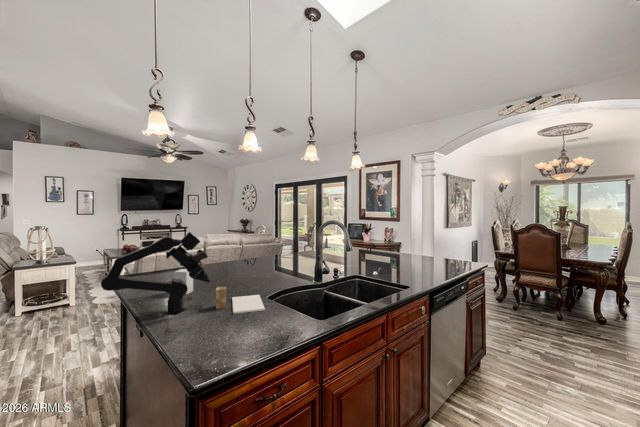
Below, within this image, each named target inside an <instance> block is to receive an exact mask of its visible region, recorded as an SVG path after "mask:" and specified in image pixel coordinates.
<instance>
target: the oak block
mask: <svg viewBox="0 0 640 427" xmlns="http://www.w3.org/2000/svg"><path fill="white" fill-rule="evenodd" d="M215 296H216V297H215V307H216V308H215V309H216V310H220V309H226V308H227V286H218V287H216V288H215Z"/></svg>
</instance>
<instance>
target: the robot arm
mask: <svg viewBox="0 0 640 427" xmlns="http://www.w3.org/2000/svg"><path fill="white" fill-rule="evenodd" d="M200 243H201V240H200V239H198V238H197V237H196V236H195V235H194V234H193V233H192V232H191V231H189V232H187V233H186V235H185V236H184V237H183V238H182V239H178V238H177V239H175V238H172V237H171V236H167V235H166V236H163V237H161V238H160V239H157V240H156V241H155V242H152V244H150V245H148V246H145V247H143V248H139V249H138V250H135V251H133V252H130V253H127V254H125V255H123V256H119V257H117V258H116V259H115V260H114V262H113V265H112V267H111V269H110V271H109V272H108V274H107V275H105V277H103V279H102V280H101V282H100V285H101V286H100V287H101V288H102V289H103V290H105V291H107V292H108V291H119V290H124V289H131V290H132V289H133V290H139V291H140V290H141V291H153V292H165V293H167V297H168V298H167V300H166V301H167V305H166V306H167V310H166V311H164V314H166V315H167V314H168V315H178V314H180V313H182V312H184V311H186V310H187V308H186V307H184V296H185V295H184V294H186V292H187V290H188V288H187V285H186V283H185V281H182V280H181V279H174V277H172V278H171V280H170V281H159V280H150V279H149V280H148V279H141V278H140V279H139V278H131V277H128V276H126V275H123V274H122V272H123V269H124V267H125V266H127V265H129V264H132V263H134V262H135V261H136V262H137V261H139V260H141V259H144V258H146V257H149V256H151V255H153V254H156V253H157V254H158V253H163V252H165V255H166V259H168V258H170V257H172V258H173V259H174V260H175V261H177V263H179V265H180V266H181V267H183V268H184V269H187V271H188V272H189V276H190V277H191V278H193V280H194V279H195V280H198V281H202V282H205V283H210V282H211V280H210V278H209V276H208V274H207V273H206V271H205V268H204V267H203V263H202V261H203V260H204V259H207V258H208V257H209V256H208V253H207V252H206V250H205V249H203V250H202V249H198V250H197V252H196V253H195V254H192V253H189V252H188V251H189V250H191V251H193V249H195V247H197V246H198V245H199V244H200ZM186 295H187V294H186Z"/></svg>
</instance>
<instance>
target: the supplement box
mask: <svg viewBox="0 0 640 427" xmlns="http://www.w3.org/2000/svg"><path fill="white" fill-rule="evenodd" d="M173 278H174V279H181V280H182V281H185V283H186V285H187V288H188V290H187V292H186V294H184V295H183V296H185V295H188V294H190V293H192V292H193V291H194V279H193V278H191V277H190V276H189V272H188V271H187V269H186V268H179V269H178V270H175V271H173Z"/></svg>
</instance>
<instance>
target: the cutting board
mask: <svg viewBox="0 0 640 427" xmlns="http://www.w3.org/2000/svg"><path fill="white" fill-rule="evenodd" d="M231 299H232V300H231V301H232V313H233V314H245V313H253V312H254V313H255V312H260V311H261V312H262V311H265V310H266V308H265V305H264V303H263V300H262V298H261V295H260V294H253V295H252V294H251V295H244V296H243V295H242V296H232V298H231Z"/></svg>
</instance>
